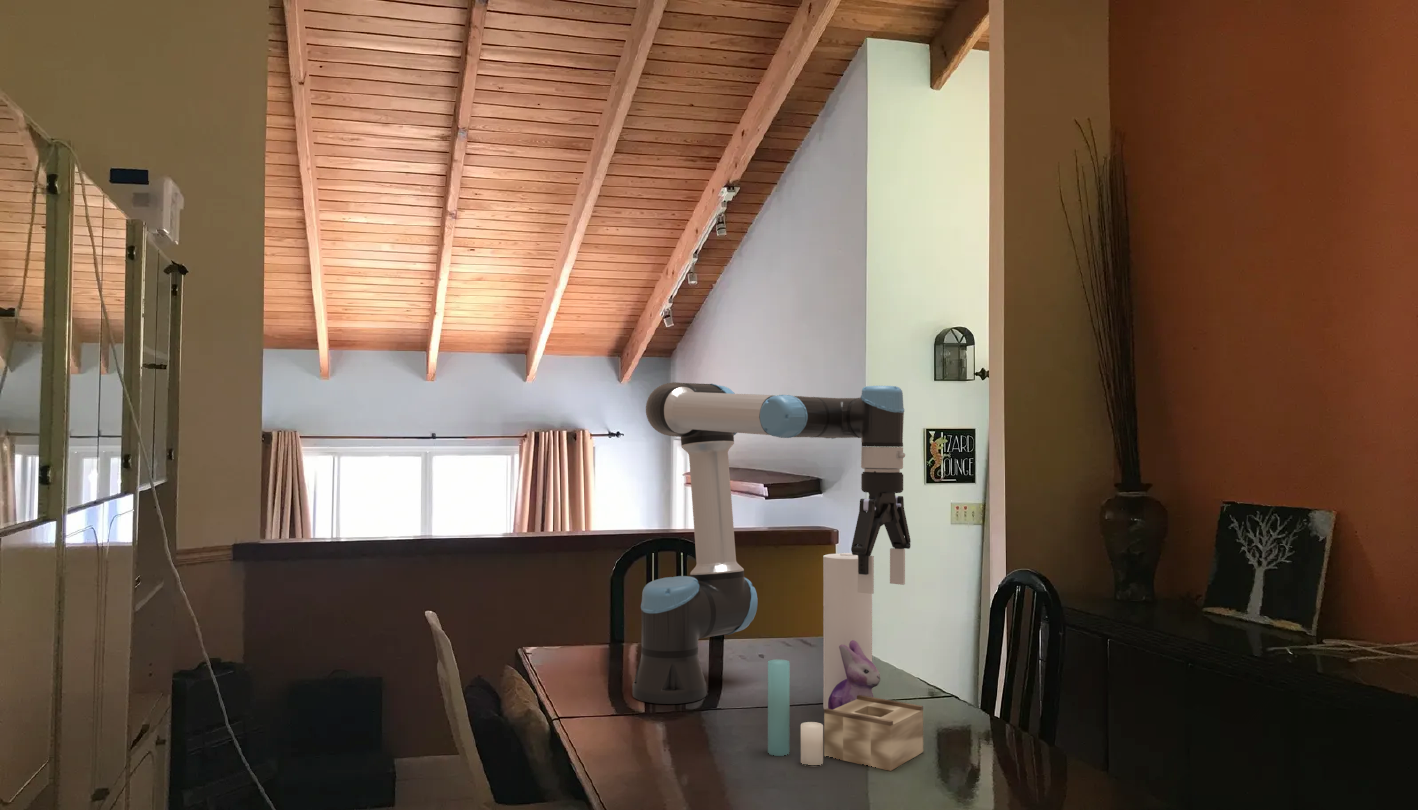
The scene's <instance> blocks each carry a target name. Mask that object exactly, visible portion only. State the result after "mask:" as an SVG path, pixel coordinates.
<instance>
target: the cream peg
mask: <svg viewBox="0 0 1418 810" xmlns="http://www.w3.org/2000/svg"><path fill="white" fill-rule="evenodd" d="M823 724H824V723H820V722H815V721H807V722H806V721H805V722H802V723H801V724H800V764H801V763H802V764H801V765H803V764H808V765H820V766H822V765H823V763H824V725H823ZM821 764H822V765H821Z"/></svg>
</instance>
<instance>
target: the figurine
mask: <svg viewBox="0 0 1418 810" xmlns="http://www.w3.org/2000/svg"><path fill="white" fill-rule="evenodd" d="M839 649H840V653H841V657H842V661H843V665H844V669H845V673H846V676H847V679H845V680H843V681H841V682H840V683H839V684H837V685H836V686H835V688H834V689H833V691H832V693H831V695H830V697H829V700H828V709H832V710H833V709H835V708H838V707H840V706H842V705H845V704H847V703H849V702H852V701H854V700H856V699H857V695H863V696H869V697H874V693H873V688H877V687H878V686H879V684H880V682H881V673H880V671H879V669H877V666H876V665H875V664H874V663H873V661H872V662H871V661H870V660H869V659H868V658H867V657H866V656H865V655H864V653H863V651H862V649H861V648H860V646H859V644H858V643H857V642H856V641H855V640H851V641H850V643H849V647H847V646H846V645H840V646H839Z"/></svg>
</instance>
